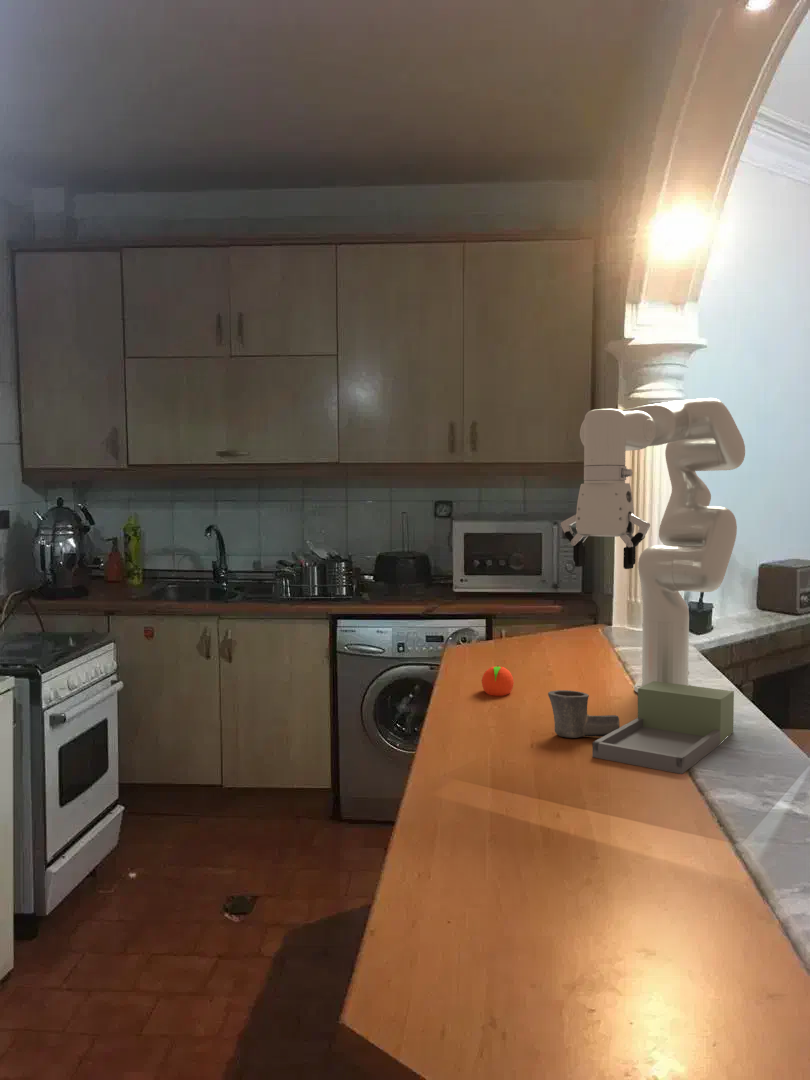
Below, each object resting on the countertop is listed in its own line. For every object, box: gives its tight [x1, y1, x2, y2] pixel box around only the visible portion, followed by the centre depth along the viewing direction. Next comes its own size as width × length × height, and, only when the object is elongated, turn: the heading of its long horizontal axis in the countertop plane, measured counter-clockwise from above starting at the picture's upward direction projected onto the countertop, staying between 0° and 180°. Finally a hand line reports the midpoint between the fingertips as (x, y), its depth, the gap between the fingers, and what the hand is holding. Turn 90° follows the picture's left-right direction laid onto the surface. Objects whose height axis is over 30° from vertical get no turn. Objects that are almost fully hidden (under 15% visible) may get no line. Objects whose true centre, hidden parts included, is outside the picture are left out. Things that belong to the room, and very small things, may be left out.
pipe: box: [547, 689, 621, 739], centre depth 154 cm, size 6×13×8 cm, turn 77°
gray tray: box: [591, 681, 735, 775], centre depth 148 cm, size 28×15×8 cm, turn 143°
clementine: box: [481, 665, 515, 697], centre depth 184 cm, size 8×7×7 cm
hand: (603, 567), depth 160 cm, fingers open, 9 cm apart
